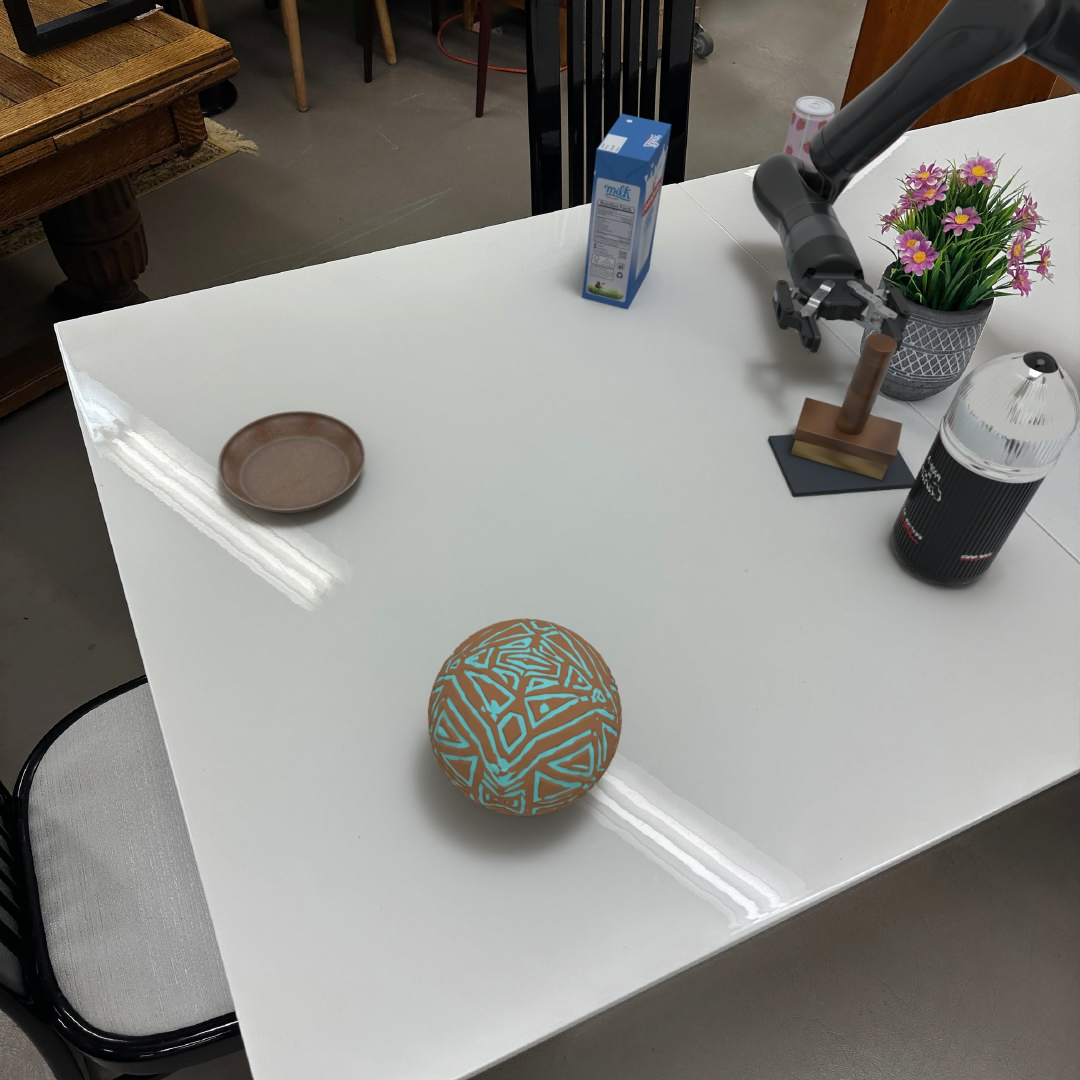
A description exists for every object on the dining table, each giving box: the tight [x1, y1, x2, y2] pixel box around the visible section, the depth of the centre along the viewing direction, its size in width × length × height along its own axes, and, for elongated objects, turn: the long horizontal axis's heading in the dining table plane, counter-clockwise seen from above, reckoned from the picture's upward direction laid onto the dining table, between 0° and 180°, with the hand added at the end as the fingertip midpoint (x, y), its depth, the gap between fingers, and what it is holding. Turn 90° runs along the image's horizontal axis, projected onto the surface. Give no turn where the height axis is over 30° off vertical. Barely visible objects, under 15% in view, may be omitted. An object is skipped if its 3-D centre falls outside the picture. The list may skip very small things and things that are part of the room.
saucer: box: [217, 410, 366, 514], centre depth 100 cm, size 15×15×3 cm
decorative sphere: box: [427, 618, 623, 817], centre depth 75 cm, size 15×15×15 cm
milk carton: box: [582, 113, 672, 310], centre depth 120 cm, size 10×6×20 cm, turn 160°
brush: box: [791, 333, 903, 480], centre depth 101 cm, size 11×6×15 cm, turn 69°
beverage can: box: [781, 95, 836, 167], centre depth 137 cm, size 6×6×15 cm
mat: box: [767, 433, 916, 498], centre depth 106 cm, size 14×9×1 cm, turn 99°
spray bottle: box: [890, 350, 1080, 586], centre depth 89 cm, size 10×10×25 cm
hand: (855, 347), depth 102 cm, fingers open, 8 cm apart
